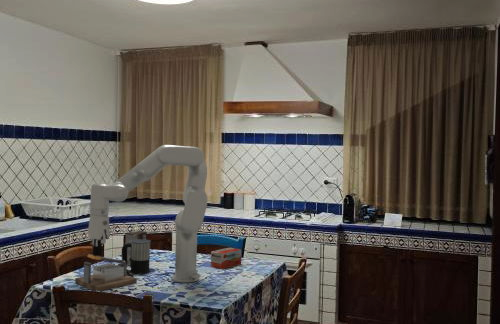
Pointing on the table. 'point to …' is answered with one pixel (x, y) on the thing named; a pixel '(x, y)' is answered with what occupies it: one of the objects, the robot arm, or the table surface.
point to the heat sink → (105, 272)
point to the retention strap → (106, 259)
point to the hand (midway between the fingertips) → (97, 255)
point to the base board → (105, 283)
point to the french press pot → (133, 236)
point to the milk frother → (137, 256)
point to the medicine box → (226, 258)
